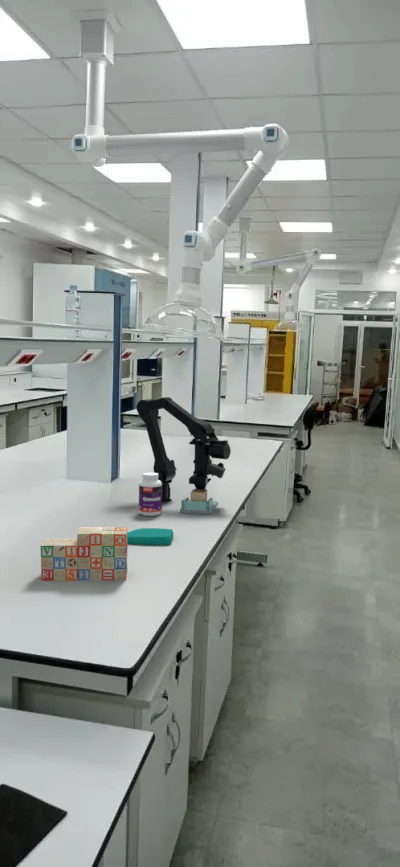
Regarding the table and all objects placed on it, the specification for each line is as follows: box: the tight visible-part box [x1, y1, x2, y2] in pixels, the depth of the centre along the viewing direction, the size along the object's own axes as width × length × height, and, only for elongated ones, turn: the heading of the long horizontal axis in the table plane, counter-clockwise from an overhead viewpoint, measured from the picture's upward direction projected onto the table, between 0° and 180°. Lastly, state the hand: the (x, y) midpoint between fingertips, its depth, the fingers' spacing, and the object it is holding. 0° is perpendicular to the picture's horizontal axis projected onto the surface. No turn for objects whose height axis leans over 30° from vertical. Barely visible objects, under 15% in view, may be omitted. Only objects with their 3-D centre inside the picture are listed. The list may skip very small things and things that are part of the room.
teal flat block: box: [127, 527, 174, 546], centre depth 198 cm, size 3×11×24 cm
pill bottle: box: [138, 471, 163, 517], centre depth 228 cm, size 8×8×14 cm
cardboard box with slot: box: [189, 488, 208, 502], centre depth 236 cm, size 6×5×6 cm
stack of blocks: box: [40, 526, 129, 582], centre depth 165 cm, size 21×6×12 cm, turn 93°
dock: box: [179, 496, 219, 515], centre depth 237 cm, size 15×11×4 cm
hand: (202, 498), depth 241 cm, fingers closed
